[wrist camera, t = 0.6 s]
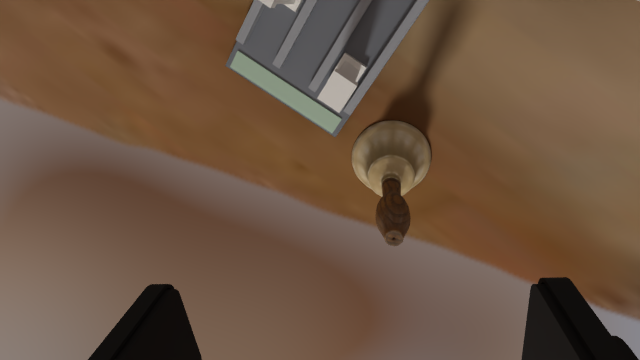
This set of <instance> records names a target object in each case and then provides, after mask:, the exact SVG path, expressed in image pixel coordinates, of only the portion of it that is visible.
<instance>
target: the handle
mask: <svg viewBox="0 0 640 360" xmlns="http://www.w3.org/2000/svg"><path fill="white" fill-rule="evenodd" d="M366 68H367V66H365V65H364V64H362V63H361V62H359V61H358V60H356V59H355V58H353V57H352V56H351V55H349V54H348V53H346V52H345V53H344V55H343V57H342V58H341V60H340V61H339V63H338V65H337V66H336V68H335V69H334V71H333V73H332V74H331V76H330V77H329V79H328V82H327V83H326V85H325V86H324V88H323V90H322V91H321V93H320V94H319V96H318V98H317V99H319V100H320V101H322V102H323V103H325V104H326V105H328V106H329V107H331V108H332V109H334V110H335V111H337V112H338V113H340V111H341V110H342V108H343V107H344V105H345V104H346V102H347V101H348V99H349V98H350V96H351V95H352V93H353V92H354V90H355V89H356V87H357V85H358V83H357V82H358V80H359V79H360V77H361V76H362V74H363V73H364V71H365V70H366Z"/></svg>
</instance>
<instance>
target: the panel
mask: <svg viewBox="0 0 640 360" xmlns="http://www.w3.org/2000/svg"><path fill="white" fill-rule="evenodd" d="M428 1H429V0H303V2H302V3H301V5H300V7H299V9H298V11H297V12H294V11H293V10H291V9H290V8H288V7H287V6H285V5H284V4H277V5H276V7H275V8H269V7H268V6H266V5H265V4H263V3H262V2H260V1H259V0H254V2H253V4H252V6H251V8H250V10H249V12H248V14H247V16H246V18H245V21H244V23H243V25H242V27H241V29H240V31H239V33H238V35H237V38H236V40H237V42H236V44H235V46H234V48H233V51H232V53H231V55H230V57H229V59H228V61H227V63H226V65H225V66H227V67H228V68H230V69H231V70H233V71H234V72H236V73H237V74H239V75H241V76H242V77H244V78H245V79H247V80H248V81H250V82H251V83H253V84H254V85H256V86H257V87H259V88H260V89H262V90H264V91H265V92H267V93H268V94H270V95H271V96H273V97H274V98H276V99H277V100H279V101H280V102H282V103H283V104H285V105H287V106H288V107H290V108H291V109H293V110H294V111H296V112H297V113H299V114H300V115H302V116H303V117H305V118H307V119H308V120H310V121H311V122H313V123H314V124H316V125H317V126H319V127H320V128H322V129H323V130H325V131H326V132H328V133H330V134H331V135H333V136H334V137H336V136H337V134H338V133H339V131H340V130H341V128H342V127H343V125H344V124H345V122H346V121H347V120H348V118H349V117H350V115H351V114H352V112H353V111H354V109H355V108H356V106H357V105H358V103H359V102H360V101H361V99H362V98H363V96H364V95H365V93H366V92H367V90H368V89H369V87H370V86H371V85H372V83H373V82H374V80H375V79H376V77H377V76H378V74H379V73H380V71H381V70H382V68H383V67H384V66H385V64H386V63H387V61H388V60H389V58H390V57H391V55H392V54H393V52H394V51H395V49H396V48H397V47H398V45H399V44H400V42H401V41H402V39H403V38H404V36H405V35H406V33H407V32H408V31H409V29H410V28H411V26H412V25H413V23H414V22H415V20H416V19H417V17H418V16H419V14H420V13H421V12H422V10H423V9H424V7H425V6H426V4H427V3H428ZM345 52H346V53H348V54H349V55H351V56H352V57H353V58H355V59H356V60H358V61H359V62H361V63H362V64H364V65H365V66H367V68H366V70H365V71H364V73H363V74H362V76H361V77H360V79H359V80H358V82H357V83H358V85H357V87H356V89H355V90H354V92H353V93H352V95H351V96H350V98H349V99H348V101H347V102H346V104H345V105H344V107H343V108H342V110H341V111H340V113H338V112H337V111H335V110H334V109H332V108H331V107H329V106H328V105H326V104H325V103H323V102H322V101H320V100H319V99H317V98H318V96H319V94H320V93H321V91H322V90H323V88H324V86H325V85H326V83H327V82H328V79H329V77H330V76H331V74H332V73H333V71H334V69H335V68H336V66H337V65H338V63H339V61H340V60H341V58H342V57H343V55H344V53H345Z"/></svg>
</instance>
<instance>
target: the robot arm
mask: <svg viewBox="0 0 640 360" xmlns="http://www.w3.org/2000/svg"><path fill="white" fill-rule="evenodd" d="M88 360H202V359H201V354H200V352H199V349H198V346H197V343H196V340H195V337H194V334H193V331H192V328H191V325H190V323H189V320H188V317H187V314H186V311H185V308H184V305H183V302H182V299H181V296H180V294H179V291H178V290H176V289H174V287H173V286H172V285H170V284H152V285H149V286H147V287H146V289H145V290H144V291H143V292H142V293H141V295H140V296H139V297H138V298H137V300H136V301H135V302H134V304H133V305H132V306H131V307H130V308H129V309H128V311H127V312H126V313H125V314H124V316H123V317H122V318H121V319H120V321H119V322H118V323H117V324H116V326H115V327H114V328H113V329H112V331H111V332H110V333H109V334H108V336H107V337H106V338H105V339H104V340H103V342H102V343H101V344H100V345H99V347H98V348H97V349H96V350H95V352H94V353H93V354H92V355H91V357H90V358H89V359H88ZM522 360H638V358H637V357H636V356H635V354H634V353H633V352H632V350H631V349H630V348H629V346H628V345H627V344H626V343H625V342H624V341H623V340H622V339H621V338H619V337H617V336H611V335H610V333H609V332H608V331H607V329H606V328H605V327H604V325H603V324H602V322H601V321H600V320H599V318H598V317H597V316H596V314H595V313H594V311H593V310H592V309H591V307H590V306H589V305H588V303H587V302H586V301H585V299H584V298H583V296H582V295H581V294H580V292H579V291H578V290H577V288H576V287H575V285H574V284H573V283H572V281H571V280H570V279H569V278H566V277H563V278H540V280H539V282H538V284H532V286H531V290H530V298H529V306H528V313H527V321H526V330H525V337H524V345H523V353H522Z"/></svg>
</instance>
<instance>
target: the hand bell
mask: <svg viewBox="0 0 640 360" xmlns="http://www.w3.org/2000/svg"><path fill="white" fill-rule="evenodd" d="M430 163H431V150H430V146H429V144H428V141H427V139H426V138H425V136H424V135H423V134H422V133H421V132H420V131H419V130H418V129H417V128H415V127H414V126H412V125H410V124H408V123H405V122H402V121H395V120H390V121H382V122H378V123H375V124H374V125H372V126H370V127H368V128H367V129H366V130H364V131H363V132H362V133H361V134H360V136H359V137H358V138H357V140H356V142H355V144H354V147H353V150H352V165H353V169H354V171H355V173H356V175H357V177H358V178H359V179H360V180H361V182H362V183H364V184H365V185H366V186H367V187H369V188H371V189H372V190H373V191H374V192H375V193H376V194H378V195H380V196H382V198H381V199H380V201H379V203H378V205H377V209H376V224H377V227H378V229H379V231H380V233H381V234H382V235H383V237H384V239H385V241H386V243H387V244H389V245H392V246H398V245H399V244H401V243H402V242H403V238H404V236H405V234H406V233H407V231H408V229H409V226H410V212H409V208H408V205H407V203H406V201H405V200H404V198H403V197H402V195H404V194H406V193H407V192H408V191H409V190H410V189H411V188H413V187H414V186H416V185H417V184H418V183H420V182H421V181H422V179H423V178H424V177H425V175H426V174H427V172H428V170H429V167H430Z"/></svg>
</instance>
